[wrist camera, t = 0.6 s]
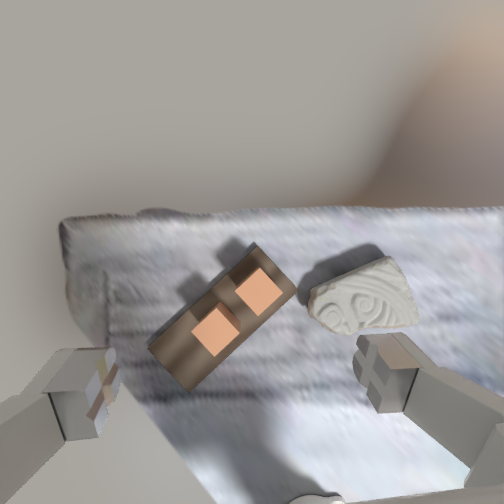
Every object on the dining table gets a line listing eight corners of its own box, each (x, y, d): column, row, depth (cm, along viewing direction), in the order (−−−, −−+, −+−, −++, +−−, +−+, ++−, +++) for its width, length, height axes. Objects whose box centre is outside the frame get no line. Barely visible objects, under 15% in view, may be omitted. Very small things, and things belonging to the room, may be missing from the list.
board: (297, 289, 55) (298, 290, 54) (189, 390, 55) (188, 393, 54) (257, 246, 55) (257, 245, 54) (149, 346, 55) (146, 348, 54)
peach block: (278, 287, 54) (283, 292, 47) (256, 308, 54) (257, 316, 47) (258, 266, 54) (259, 267, 47) (236, 286, 54) (234, 291, 47)
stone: (385, 253, 56) (398, 253, 51) (412, 317, 56) (429, 323, 51) (297, 292, 56) (302, 296, 51) (324, 355, 56) (332, 366, 51)
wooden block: (240, 323, 54) (239, 333, 47) (218, 343, 54) (214, 356, 47) (220, 301, 54) (216, 307, 47) (198, 321, 54) (190, 331, 47)
